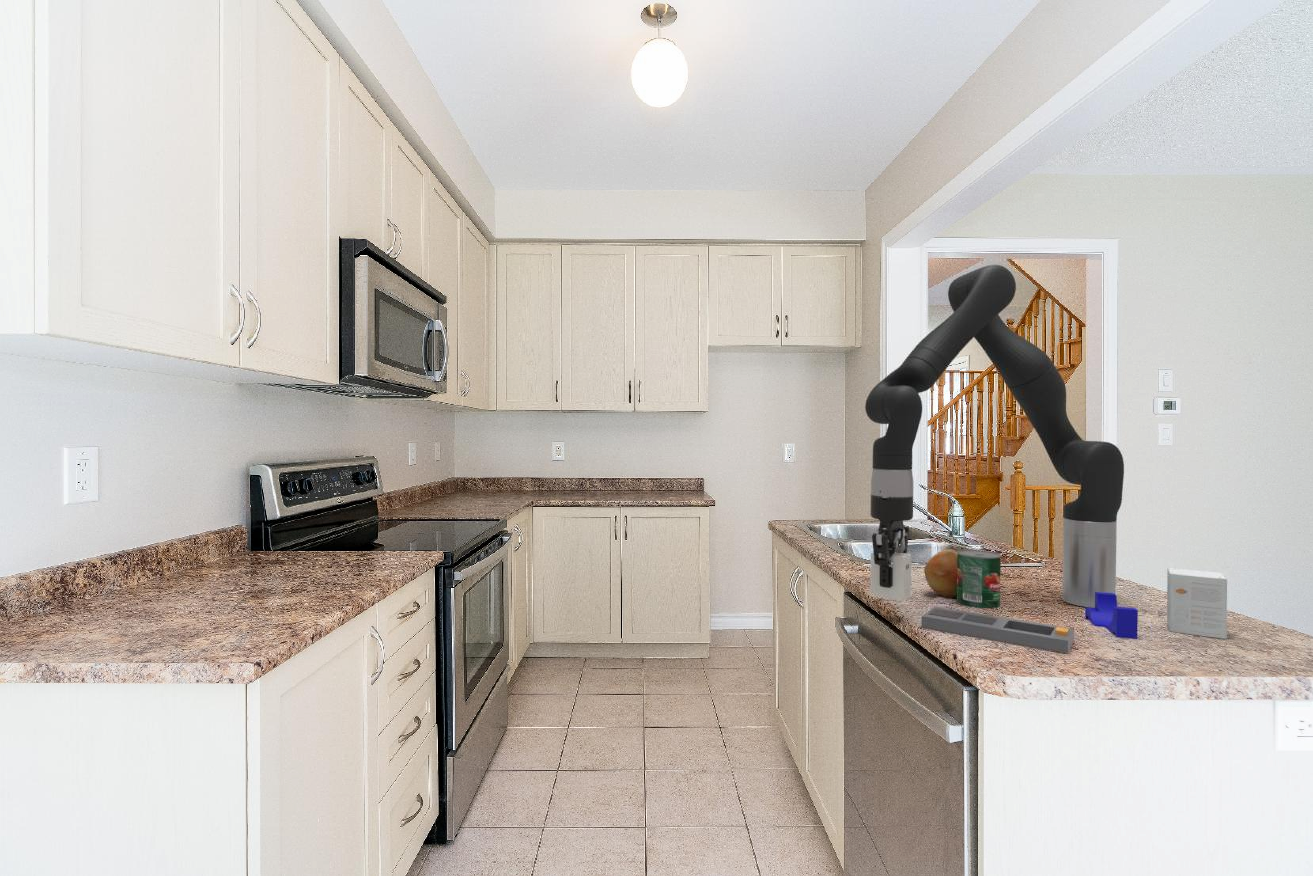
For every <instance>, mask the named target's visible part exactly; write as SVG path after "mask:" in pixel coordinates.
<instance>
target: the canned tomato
mask: <svg viewBox="0 0 1313 876" xmlns="http://www.w3.org/2000/svg"><path fill="white" fill-rule="evenodd" d="M957 554H958V556H957V597H956V602H957V603H958V604H959V605H963V606H964V607H965V606H966V607H969V608H970V607H971V608H977V609H995V608H996V609H997V608H999V607H1000V606H1001V585H1002V584H1001V573H1002V572H1001V568H1002V567H1001V566H1002V562H1001V558H1002V555H1001V553H998V552H996V551H995V552H994V551H990V550H983V549H980V550H979V549H962V550H958V551H957Z"/></svg>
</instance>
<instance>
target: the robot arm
mask: <svg viewBox="0 0 1313 876" xmlns="http://www.w3.org/2000/svg"><path fill="white" fill-rule="evenodd" d="M1016 291H1017V284H1016V280H1015V276H1014V275H1013V274H1012V272H1011V271H1010V269H1008V268H1007V267H1005V266H1004V265H1000V264H990V265H986V266H983V267H982V266H981V267H980V268H977V269H974V270H971V271H970V272H967V273H965V274H962V275H960V276H959V277H956V278H955V279H953V281H952V282H951V283H950V284H949V286H948V291H947V296H948V297H947V298H948V302H949V305H950V307H951V309H952V311H953V312H952V314H951V315H950V316H948V317H947V318H945V320H943V322H941V323H940V324H939V325H938V326H936V327H935V328H934V329H933V330H931V331H930V332H929V333H927V335H926V336H924V337H923V338H922V340H920V341H919V342H918V344H917V345H916V346H914V348H913V349H912V351H911V352H910V353H909V354H908V355H907V357H906V358H905V359H904V361H902V363H901V365H900V366H898V367H897V368H896V369H894V370H892V371H891V372H890V373H888V375H886V376H885V377H884V378H883V379H882V380H881V381H880V382H878V383H877V384H876V385H875V386H874V387H873V388H872V390H871V391H870V392H869V394H868V396H867V398H866V401H865V406H864V409H865V413H866V416H867V417H868V419H869V420H871V421H872V422H873V423H876V424H880V425H888V426H887V428H886V432H885V435H883V436H881V437H879V438H877V439H875V440H874V442H873V444H872V445H873V446H872V472H871V478H870V517H871V518H872V519H875V520H878V521H879V524H878V525H879V526H878V528H877V533H872V535H871V538H872V539H871V540H872V541H871V542H872V548H873V549H872V553H874V562H875V564H878V566H880V586H881V587H886V588H890V587H892V586H893V568H892V567H893V559H894V556H895V555H897V552H898V553H907V554H908V545H909V536H910V535H909V534H910V527H909V526H905V525H904V522H905V521H910V520H912V519H913V518H914V477H913V476H914V475H913V449H914V448H913V446H914V443H915V441H916V438H917V434H918V431H919V426H920V424H921V420H922V415H923V403H922V402H923V401H922V398H921V396H920V394H921V393H924V392H926V391H928V390H930V389H931V388H932V387H933V386H934V385H935V384H936V382H937V381H938V380H939V379H940V377H941V376H942V375H943V374H944V372H945V371H946V370H947V368H948V367H949V366H950V364H952V362H953V361H954V360H955V359H956V357H957V356H958V355H959V354H960V353H961V352H962V350H964V348H965V347H966V346H967V345H968V344H969V343H970V342H971V341H972V340H973V339H974V340H975V341H977V343H978V344H979V346H981V348H982V350H983V351H984V353H985V354H986V356H987V357H988V358H989V360H990V362H991V363H992V364H993V366H994V367H995V369H996V370H997V372H998V373H999V375H1000V376H1001V379H1002V380H1003V382H1004V384H1005V385H1006V387H1007V388H1008V389H1009V392H1010V393H1011V395H1012V396H1013V398H1014V400H1016V402H1017V403H1018V405H1019V407H1020V408H1021V409H1022V411H1023V412H1024V414H1025V416H1026V418H1027V419H1028V421H1029V422H1030V424H1031V426H1032V427H1033V429H1034V431H1035V432H1036V433H1037V436H1038V437H1039V439H1040V441H1041V443H1042V445H1043V447H1044V449H1045V451H1046V453H1047V455H1048V458H1049V459H1050V462H1051V463H1052V466H1053V467H1054V469H1055V471H1056V472H1057V474H1058V475H1059V477H1060V478H1061V479H1062V480H1064V481H1066V483H1067V482H1068V483H1069V484H1072V485H1077V486H1080V489H1079V496H1078V497H1077V498H1076V499H1074V500H1073V501H1070V502H1067V503H1065V504H1064V505H1063V513H1062V514H1063V515H1062V517H1063V521H1062V525H1063V527H1062V529H1063V530H1062V531H1063V533H1062V538H1063V539H1062V581H1061V583H1062V585H1061V586H1062V587H1061V589H1062V590H1061V591H1062V592H1061V594H1062V595H1061V596H1062V597H1061V599H1062V601H1063V602H1065V603H1068V604H1071V605H1075V606H1078V607H1087V608H1095V592H1103V593H1114V594H1116V591H1117V590H1116V588H1117V586H1116V585H1117V538H1118V537H1117V536H1118V535H1117V533H1118V532H1117V527H1118V526H1117V524H1118V523H1117V519H1118V518H1117V517H1118V513H1119V510H1120V508H1121V505H1122V503H1123V501H1122V500H1123V489H1124V477H1125V464H1124V463H1125V462H1124V457H1123V454H1122V452H1121V450H1120V448H1119V447H1118V446H1117V445H1115V444H1113V443H1111V442H1110V441H1109V442H1108V441H1101V440H1100V441H1099V440H1098V441H1097V440H1084V439H1083V438H1081V436H1080V435H1079V434H1078V433H1077V431H1076V430H1075V428H1074V426H1073V424H1072V423H1071V422H1070V420H1069V416H1068V414H1067V388H1066V384H1065V381H1064V378H1063V377H1062V375H1061V373H1060V372H1059V370H1058V369H1057V367H1056V366H1055V364H1054V362H1053V361H1052V359H1051V358H1050V357H1049V355H1048V354H1047V353H1046V352H1045V351H1044V350H1042V349H1040V348H1039V347H1038V346H1037V345H1035V344H1034V343H1032V342H1030V341H1029V340H1028V339H1026V338H1024V337H1022V336H1021V335H1019V334H1018V333H1016V332H1015V331H1013V330H1012V329H1011V328H1010V327H1009V326H1008V325H1007V324H1006V323H1005V322H1004V321H1003V319H1002V317H1000V313H1001V312H1002V311H1003V310H1005V309H1006V308H1007V307H1008V306H1009V305H1010V304H1011V303H1012V302H1013V299H1014V298H1015V295H1016ZM883 555H884V556H885V558H883ZM1116 595H1117V594H1116Z"/></svg>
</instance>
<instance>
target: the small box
mask: <svg viewBox="0 0 1313 876" xmlns="http://www.w3.org/2000/svg"><path fill="white" fill-rule="evenodd" d="M1166 570H1167V576H1166V577H1167V581H1166V582H1167V583H1166V585H1167V587H1166V588H1167V591H1166V622H1167V623H1166V624H1167V629H1168V631H1169V632H1170V633H1176V634H1177V633H1178V634H1184V635H1186V634H1187V635H1193V636H1201V637H1207V638H1215V639H1223V640H1227V638H1228V628H1227V627H1228V626H1227V625H1228V623H1227V622H1228V621H1227V619H1228V617H1227V616H1228V614H1227V613H1228V607H1227V605H1228V603H1227V602H1228V580H1227V578H1226V576H1225V575H1224V573H1222V572H1215V571H1207V570H1206V571H1205V570H1204V571H1203V570H1194V569H1193V570H1192V569H1185V568H1184V569H1181V568H1171V567H1168V568H1167V569H1166Z"/></svg>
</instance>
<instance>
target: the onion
mask: <svg viewBox="0 0 1313 876" xmlns="http://www.w3.org/2000/svg"><path fill="white" fill-rule="evenodd" d="M957 552H958V551H957V549H956V550H955V549H954V548H953V549H952V548H947V549H945V550H941V551H938V552H937V553H935V554H934V555H933V556H932V557H931V558H930V559H928V561H927V562H926V564H925V565H924V569H923V571H924V572H923V573H924V577H925V580H926V582H927V584H928V587H930V589H931V590H932V591H933V592H935V593H937V594H938V595H941V597H942V596H943V597H945V598H949V599H953V598H957V556H958V554H957Z"/></svg>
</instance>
